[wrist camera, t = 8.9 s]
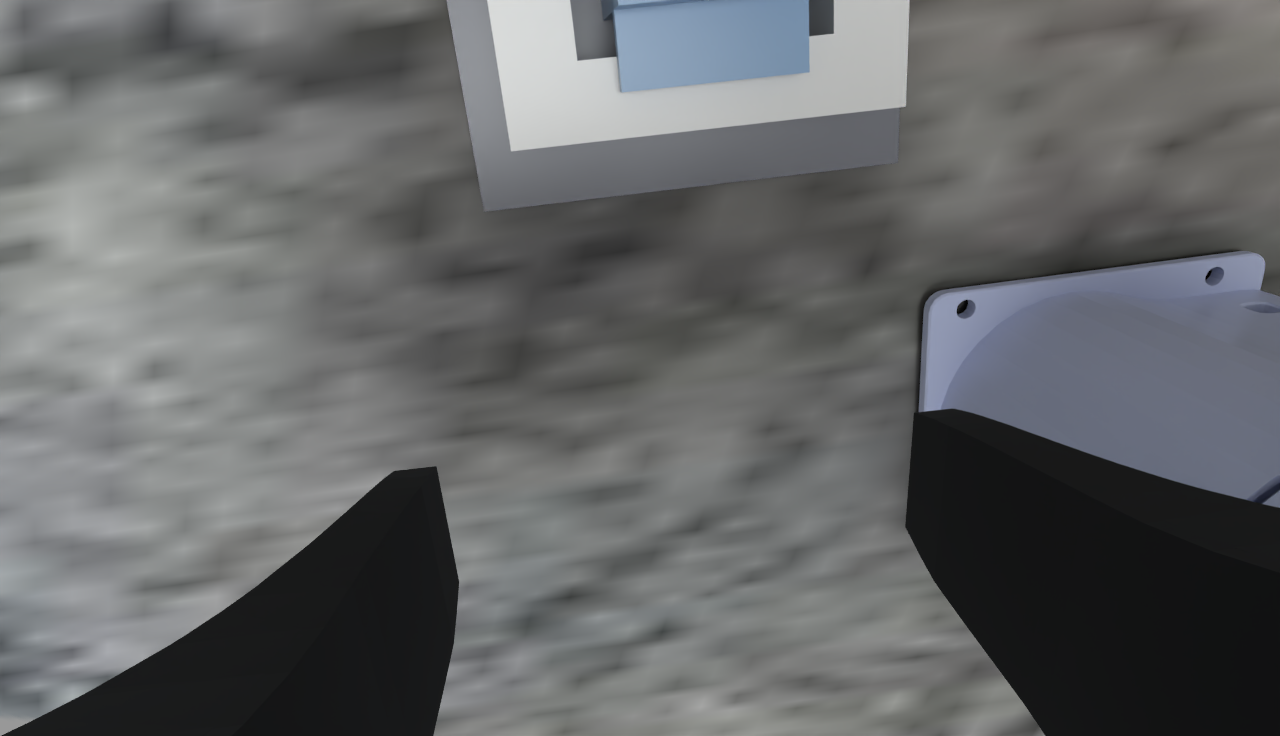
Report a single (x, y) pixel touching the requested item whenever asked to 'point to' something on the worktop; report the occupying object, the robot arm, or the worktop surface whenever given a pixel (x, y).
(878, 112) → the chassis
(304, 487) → the worktop surface
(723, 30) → the block
